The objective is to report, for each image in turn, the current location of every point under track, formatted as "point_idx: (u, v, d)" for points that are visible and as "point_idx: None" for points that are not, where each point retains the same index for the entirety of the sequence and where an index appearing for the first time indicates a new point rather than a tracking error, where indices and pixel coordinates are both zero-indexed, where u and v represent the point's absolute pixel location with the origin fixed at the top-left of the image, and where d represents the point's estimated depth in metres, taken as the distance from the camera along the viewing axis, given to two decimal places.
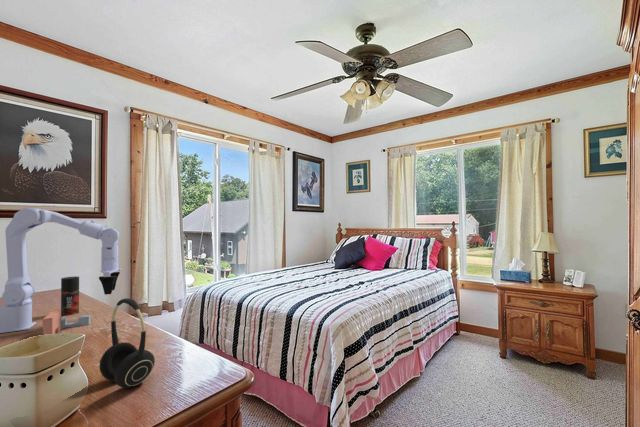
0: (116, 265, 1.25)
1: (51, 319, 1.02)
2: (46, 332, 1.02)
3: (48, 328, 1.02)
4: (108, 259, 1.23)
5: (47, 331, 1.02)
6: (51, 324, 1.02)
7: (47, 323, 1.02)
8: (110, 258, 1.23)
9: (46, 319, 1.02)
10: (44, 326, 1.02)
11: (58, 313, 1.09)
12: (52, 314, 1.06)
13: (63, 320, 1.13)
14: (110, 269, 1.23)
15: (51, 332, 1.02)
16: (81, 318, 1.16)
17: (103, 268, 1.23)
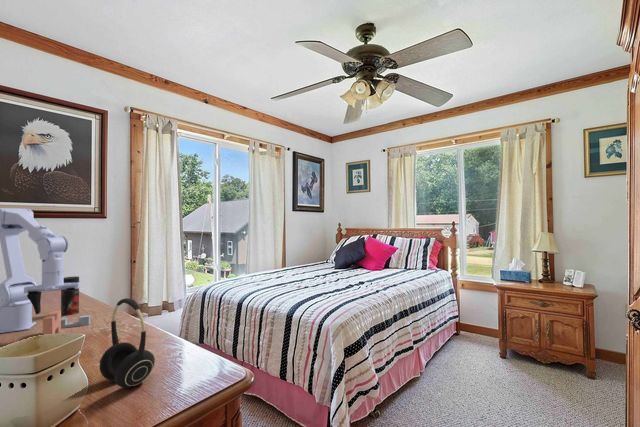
0: (45, 282, 1.04)
1: (51, 319, 1.02)
2: (46, 332, 1.02)
3: (48, 328, 1.02)
4: None
5: (47, 331, 1.02)
6: (51, 324, 1.02)
7: (47, 323, 1.02)
8: (44, 272, 1.04)
9: (46, 319, 1.02)
10: (44, 326, 1.02)
11: (58, 313, 1.09)
12: (52, 314, 1.06)
13: (63, 320, 1.13)
14: (41, 285, 1.05)
15: (51, 332, 1.02)
16: (81, 318, 1.16)
17: None
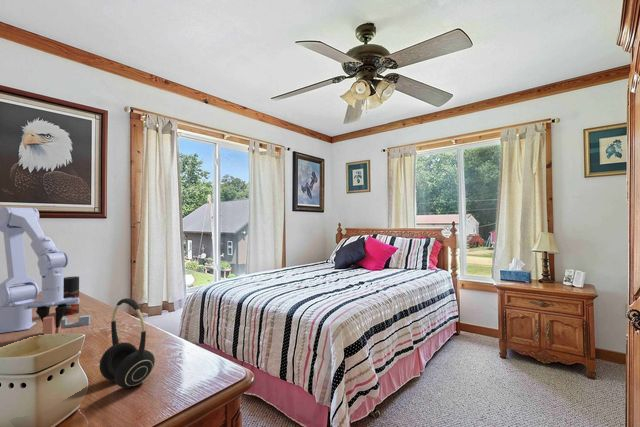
0: (45, 298, 1.04)
1: (51, 319, 1.02)
2: (46, 332, 1.02)
3: (48, 328, 1.02)
4: None
5: (47, 331, 1.02)
6: (51, 324, 1.02)
7: (47, 323, 1.02)
8: (44, 288, 1.04)
9: (46, 319, 1.02)
10: (44, 326, 1.02)
11: None
12: (52, 314, 1.06)
13: (63, 320, 1.13)
14: (41, 301, 1.05)
15: (51, 332, 1.02)
16: (81, 318, 1.16)
17: None
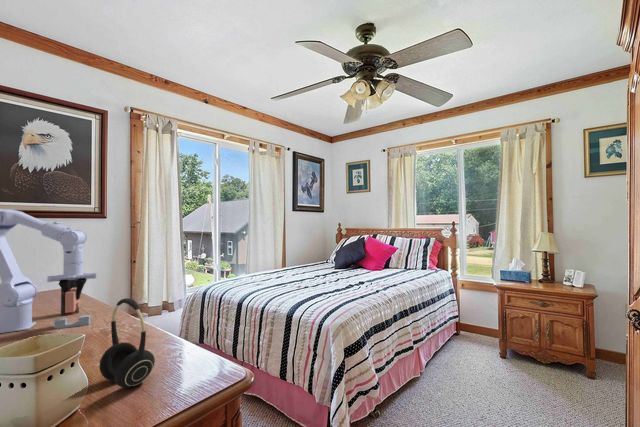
0: (66, 271, 1.13)
1: (72, 293, 1.11)
2: (68, 305, 1.11)
3: (70, 302, 1.11)
4: None
5: (69, 304, 1.11)
6: (72, 298, 1.11)
7: (69, 297, 1.11)
8: (69, 263, 1.13)
9: (68, 293, 1.11)
10: (66, 300, 1.11)
11: None
12: (73, 290, 1.15)
13: (63, 320, 1.13)
14: (63, 274, 1.14)
15: (72, 305, 1.11)
16: (81, 318, 1.16)
17: None
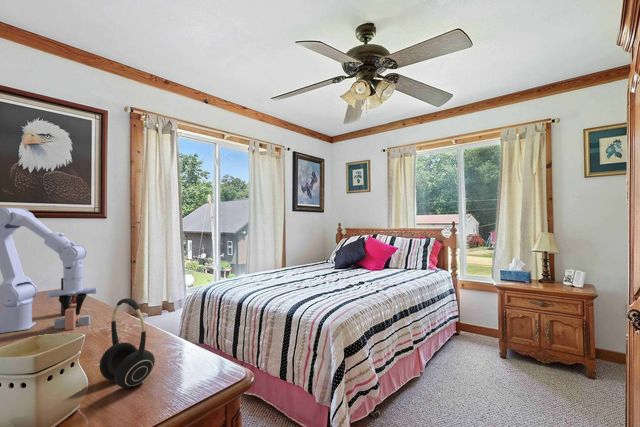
0: (66, 287, 1.13)
1: (72, 311, 1.11)
2: (68, 323, 1.11)
3: (70, 319, 1.11)
4: None
5: (69, 322, 1.11)
6: (72, 315, 1.11)
7: (69, 314, 1.11)
8: (69, 278, 1.13)
9: (68, 311, 1.11)
10: (66, 317, 1.10)
11: None
12: (73, 306, 1.15)
13: (63, 320, 1.13)
14: (63, 290, 1.14)
15: (72, 323, 1.11)
16: (81, 318, 1.16)
17: None
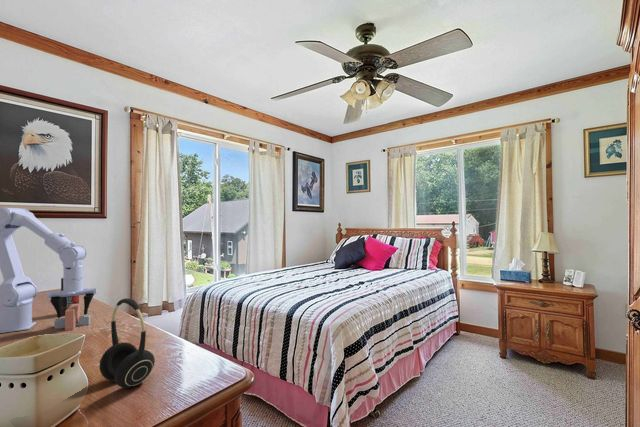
0: (66, 288, 1.13)
1: (72, 311, 1.11)
2: (68, 323, 1.11)
3: (70, 319, 1.11)
4: None
5: (69, 322, 1.11)
6: (72, 316, 1.11)
7: (69, 315, 1.11)
8: (69, 279, 1.13)
9: (68, 311, 1.11)
10: (66, 317, 1.10)
11: (78, 306, 1.17)
12: (72, 307, 1.15)
13: (63, 320, 1.13)
14: (63, 291, 1.14)
15: (72, 323, 1.11)
16: (81, 318, 1.16)
17: None
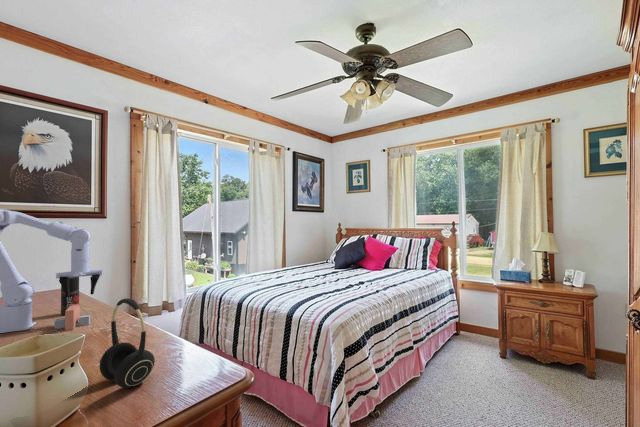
0: (74, 268, 1.19)
1: (72, 311, 1.11)
2: (68, 323, 1.11)
3: (70, 319, 1.11)
4: None
5: (69, 322, 1.11)
6: (72, 316, 1.11)
7: (69, 315, 1.11)
8: (80, 260, 1.19)
9: (68, 311, 1.11)
10: (66, 317, 1.10)
11: (78, 306, 1.17)
12: (72, 307, 1.15)
13: (63, 320, 1.13)
14: None
15: (72, 323, 1.11)
16: (81, 318, 1.16)
17: None
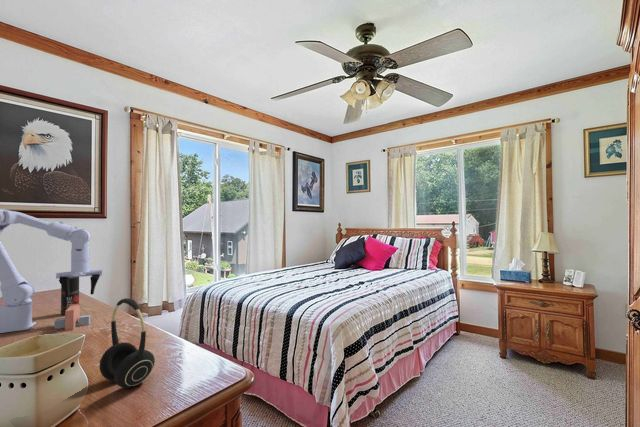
0: (74, 268, 1.19)
1: (72, 311, 1.11)
2: (68, 323, 1.11)
3: (70, 319, 1.11)
4: None
5: (69, 322, 1.11)
6: (72, 316, 1.11)
7: (69, 315, 1.11)
8: (80, 260, 1.19)
9: (68, 311, 1.11)
10: (66, 317, 1.10)
11: (78, 306, 1.17)
12: (72, 307, 1.15)
13: (63, 320, 1.13)
14: None
15: (72, 323, 1.11)
16: (81, 318, 1.16)
17: None
